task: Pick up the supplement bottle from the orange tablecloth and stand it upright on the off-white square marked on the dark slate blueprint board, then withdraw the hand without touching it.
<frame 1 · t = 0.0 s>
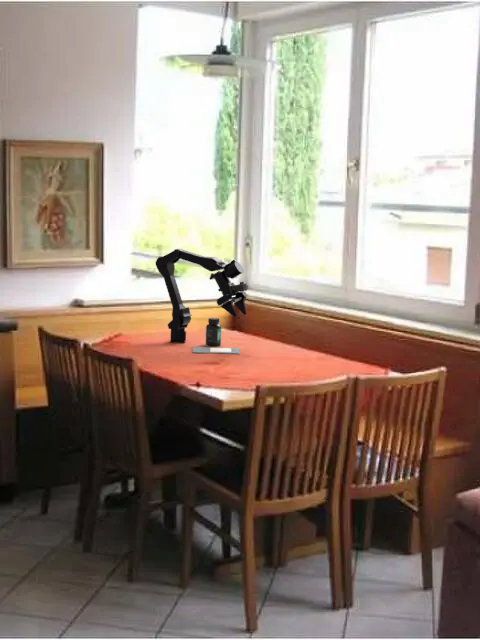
hand: (240, 315, 411), 15 cm above the table, tool tilted 35°, fingers open, 9 cm apart
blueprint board: (215, 350, 408), on the table
supplement bottle: (213, 345, 422), on the table
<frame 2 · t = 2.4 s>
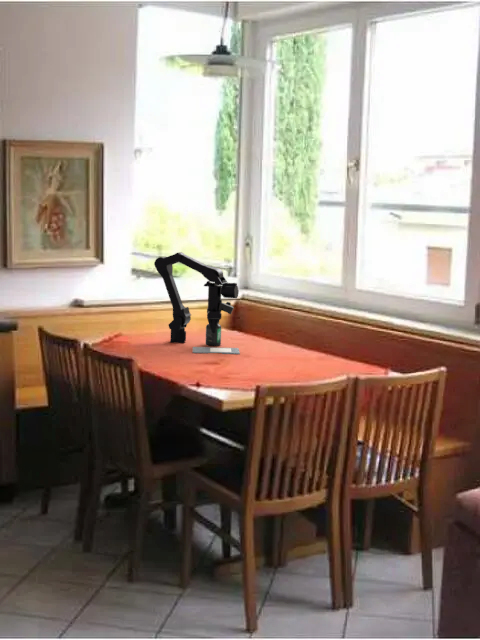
hand: (213, 331, 421), 6 cm above the table, tool pointing down, fingers closed on supplement bottle, 7 cm apart
supplement bottle: (213, 345, 422), on the table, touching gripper
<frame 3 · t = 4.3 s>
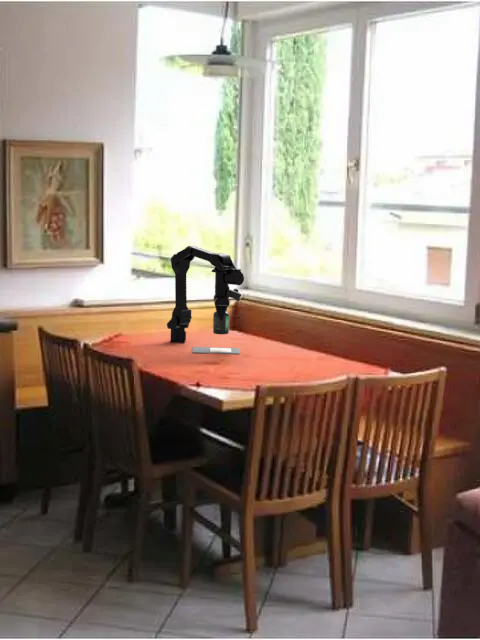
hand: (221, 319, 408), 13 cm above the table, tool pointing down, fingers closed on supplement bottle, 7 cm apart
supplement bottle: (220, 333, 409), point 7 cm above the table, touching gripper
when the fingers open (8 cm above the table, at t = 6.4 s): supplement bottle drops 1 cm, resting on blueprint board.
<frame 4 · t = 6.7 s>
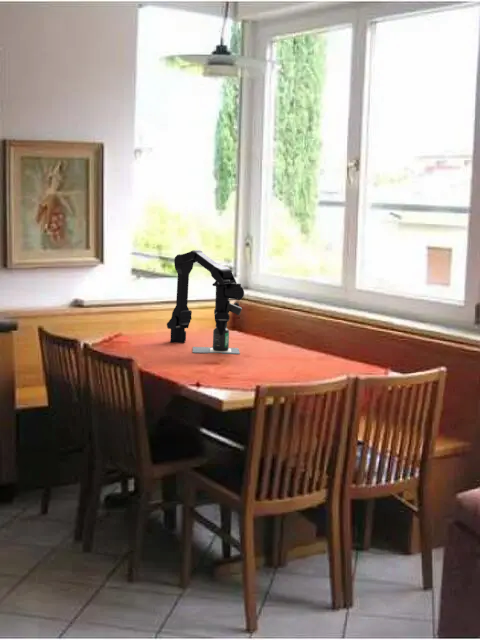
hand: (221, 333, 407), 8 cm above the table, tool pointing down, fingers open, 9 cm apart
supplement bottle: (220, 350, 407), resting on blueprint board
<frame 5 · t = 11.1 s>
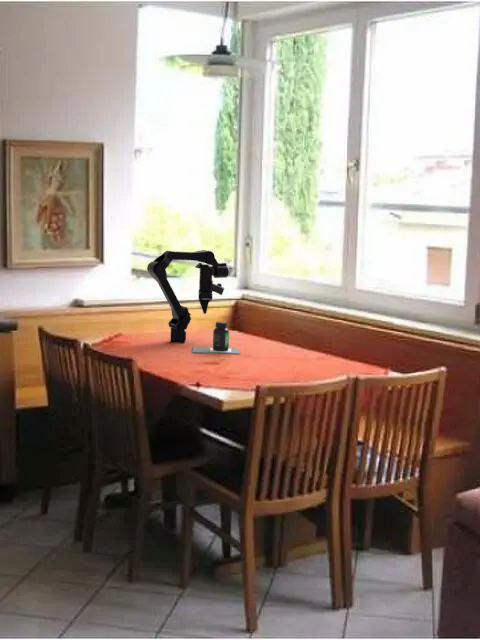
hand: (204, 312, 432), 13 cm above the table, tool pointing down, fingers open, 9 cm apart
nothing on the table moved.
at the end: supplement bottle 0.1 cm from the target spot on the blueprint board, point 0.3 cm above the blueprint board's base; supplement bottle tilted 0°; the gripper is holding nothing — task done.
